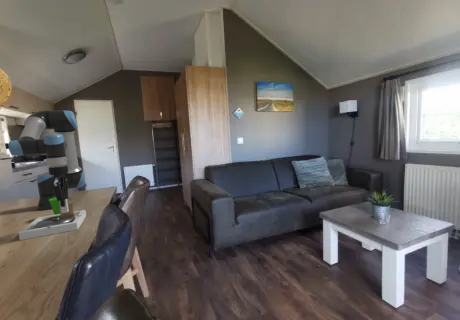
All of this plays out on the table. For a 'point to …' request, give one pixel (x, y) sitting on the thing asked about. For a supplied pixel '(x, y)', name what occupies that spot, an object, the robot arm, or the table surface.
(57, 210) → the cup
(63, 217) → the dial
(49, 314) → the table surface
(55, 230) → the white square tray
